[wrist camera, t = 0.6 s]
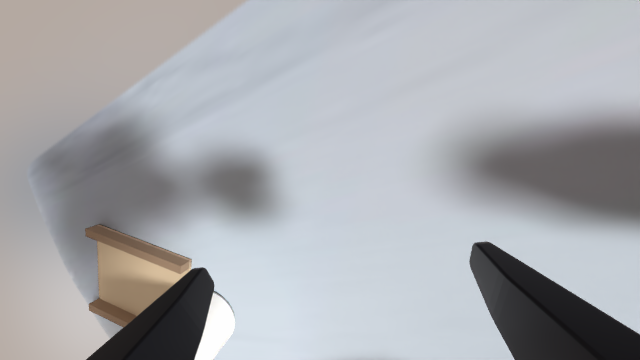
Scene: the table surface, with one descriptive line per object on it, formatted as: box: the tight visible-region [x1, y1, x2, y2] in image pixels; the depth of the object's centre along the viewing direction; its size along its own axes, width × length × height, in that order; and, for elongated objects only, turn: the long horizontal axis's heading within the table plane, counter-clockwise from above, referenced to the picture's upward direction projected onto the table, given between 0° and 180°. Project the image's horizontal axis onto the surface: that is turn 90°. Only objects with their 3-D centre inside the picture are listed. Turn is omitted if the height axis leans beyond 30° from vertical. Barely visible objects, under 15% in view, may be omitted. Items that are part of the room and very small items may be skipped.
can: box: [194, 292, 235, 360], centre depth 23 cm, size 6×6×12 cm
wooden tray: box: [85, 224, 191, 327], centre depth 30 cm, size 14×12×2 cm
